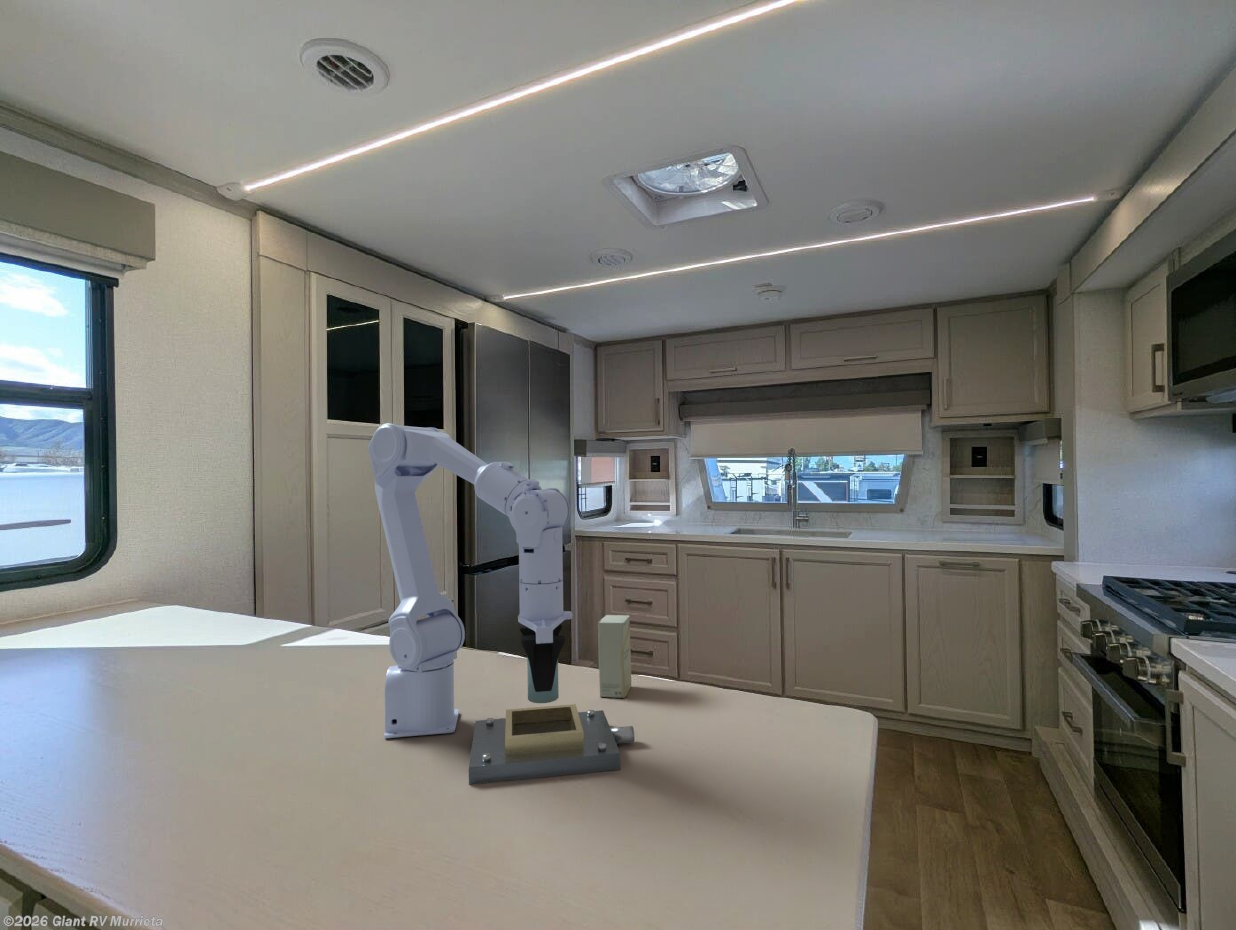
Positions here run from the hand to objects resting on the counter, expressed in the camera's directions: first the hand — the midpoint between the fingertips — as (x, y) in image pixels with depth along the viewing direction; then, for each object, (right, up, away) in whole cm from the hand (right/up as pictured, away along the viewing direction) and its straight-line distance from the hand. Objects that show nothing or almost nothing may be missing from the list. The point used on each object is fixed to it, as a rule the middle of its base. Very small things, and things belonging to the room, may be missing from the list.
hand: (542, 684), depth 80 cm
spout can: (0, -2, 0) cm, 2 cm away
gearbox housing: (+2, -9, 0) cm, 9 cm away
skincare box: (+9, -9, +22) cm, 25 cm away
